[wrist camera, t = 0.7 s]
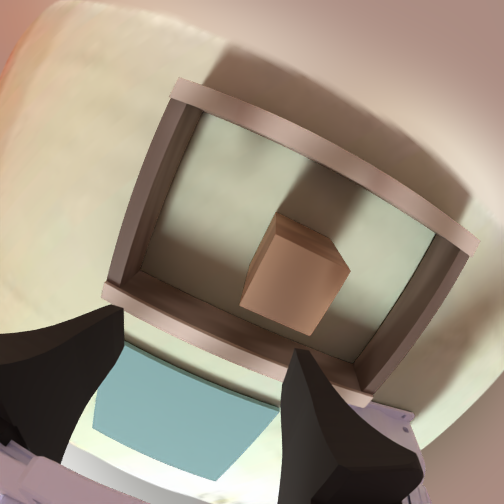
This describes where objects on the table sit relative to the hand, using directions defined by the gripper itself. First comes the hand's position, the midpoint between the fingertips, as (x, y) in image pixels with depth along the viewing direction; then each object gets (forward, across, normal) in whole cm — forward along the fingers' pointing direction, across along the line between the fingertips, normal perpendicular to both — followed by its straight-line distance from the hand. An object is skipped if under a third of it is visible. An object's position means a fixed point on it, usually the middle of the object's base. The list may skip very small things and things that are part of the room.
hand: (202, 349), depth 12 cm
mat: (+10, +4, +18) cm, 21 cm away
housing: (+9, -3, -2) cm, 10 cm away
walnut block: (+10, -3, -2) cm, 10 cm away
